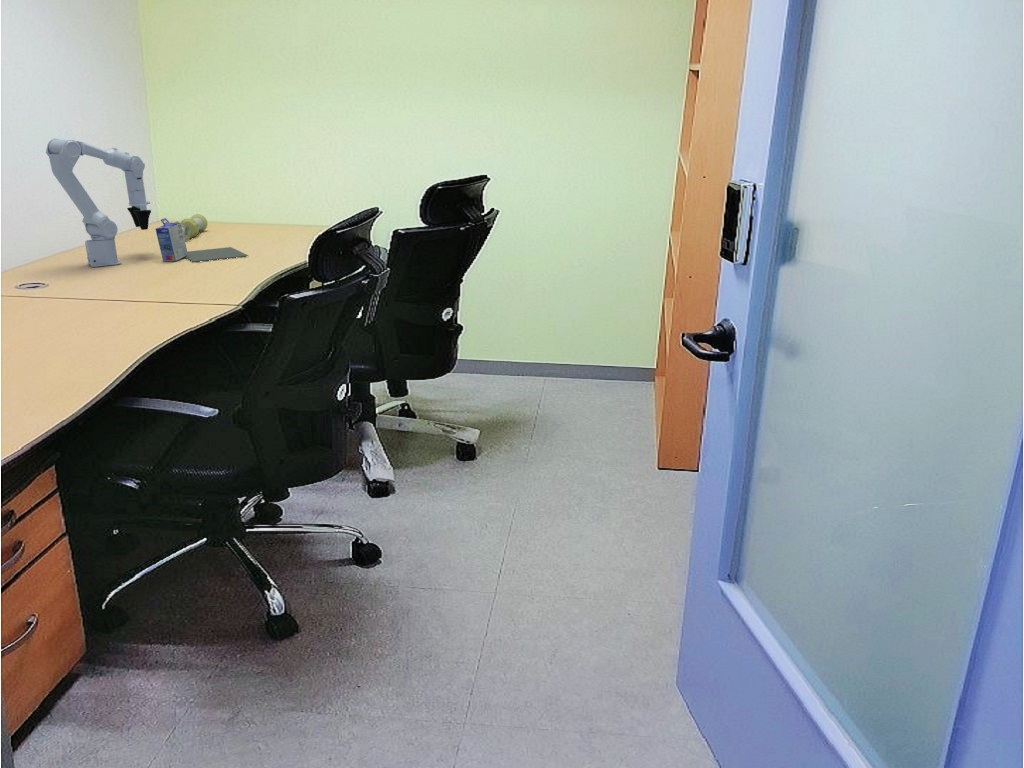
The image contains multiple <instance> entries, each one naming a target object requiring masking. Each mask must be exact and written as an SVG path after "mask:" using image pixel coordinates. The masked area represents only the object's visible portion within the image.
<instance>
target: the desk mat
mask: <svg viewBox="0 0 1024 768" xmlns="http://www.w3.org/2000/svg"><path fill="white" fill-rule="evenodd" d="M187 252H188V255H187V256H185V258H184V259H186V260H187V259H188V261H189V260H190V261H189V262H191V261H192V262H191V263H193V262H196V263H201V262H200V261H205V262H210V261H209V260H214V261H218V260H217V259H223V260H228V259H227V258H232V259H237V258H236V257H241V258H247V257H246V256H248V257H249V254H247V253H244V252H242V251H240V250H237V248H233V247H232V246H228V247H220V248H219V247H218V248H209V249H200V250H191V251H189V250H187Z"/></svg>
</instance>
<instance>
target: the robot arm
mask: <svg viewBox="0 0 1024 768" xmlns="http://www.w3.org/2000/svg"><path fill="white" fill-rule="evenodd" d="M45 154H46V155H47V156H48V158H49V163H50V167H51V173H52V174H53V176H54V177H55V179H56V180H57V181H58V182H59V184H60V186H61V187H62V188H63V190H64V191H65V192H66V195H68V196H69V198H70V200H71V201H72V202H73V204H74V205H75V206H76V208H77V209H78V211H79V213H81V215H82V217H83V218H82V223H83V225H84V227H85V228H84V229H85V231H86V233H87V234H88V235H89V236H90V239H88V240H85V252H86V257H87V264H88V265H90V266H91V267H92V268H96V267H105V266H114V265H122V262H121V261H120V260H119V259H118V253H117V247H116V246H117V245H116V240H115V239H116V236H117V234H118V225H117V224H116V223H115V222H114V221H113V220H111V219H110V218H109V217H108V215H106V214H105V213H104V212H102V211H101V210H100V209H99V208H98V206H97V205H96V204H95V202H94V200H93V199H92V198H91V197H90V195H89V193H88V192H87V190H86V189H85V188H84V186H83V185H82V183H81V182H80V181H79V179H78V178H77V176H76V175H75V173H74V172H73V169H74V167H75V166H76V164H77V162H78V160H79V159H80V157H81V156H82V157H83V156H85V155H86V156H89V157H93V158H97V159H98V160H99V159H100V160H102V161H103V163H104V164H105V165H107V166H110V167H113V168H117V169H119V170H122V171H123V172H124V177H125V183H126V189H127V196H128V206H129V207H127V208H126V209H127V211H128V212H129V214H130V216H131V218H132V221H133V223H134V225H135V227H136V228H137V227H138V228H140V230H142V231H144V230H148V228H149V219H150V216H151V213H152V209H148V208H147V205H150V204H151V201H147V197H146V191H145V190H146V189H145V184H144V170H145V167H146V165H145V162H144V161H143V160H142V158H141V157H139V156H137V155H130V153H129V152H123V151H119V150H118V148H117V147H111V148H107V149H103V148H100V147H98V146H94V145H92V144H89V143H87V142H83V141H78V140H74V139H60V138H52V139H50V140H49V141H48V142H47V146H46V150H45Z"/></svg>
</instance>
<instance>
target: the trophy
mask: <svg viewBox="0 0 1024 768" xmlns="http://www.w3.org/2000/svg"><path fill="white" fill-rule="evenodd" d="M173 223H181V225H182V229H183V234H184V238H185V242H186V243H188V242H189V241H190V238H195V237H196V236H197V235H198V234H199V233H200V232H199V231H201V232H204V231H205V230H206V229H207V228H208V220H207V218H206V217H205V216H203V215H202V214H199V213H198V214H193V215H192V216H191V217H190V218H184V219H182V221H180V222H179V221H174V222H173ZM188 240H189V241H188Z"/></svg>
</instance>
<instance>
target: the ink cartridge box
mask: <svg viewBox="0 0 1024 768" xmlns="http://www.w3.org/2000/svg"><path fill="white" fill-rule="evenodd" d="M160 221H161V224H162V225H160V226H158V227H156V228H155V234H156V236H157V237H156V238H157V242H158V245H159V246H158V247H159V249H160V255H161V258H162V262H176V261H179V260H181V259H182V258H184V257H185V256H187V255H188V248H187V244H186V243H187V242H186V243H185V241H186V240H185V238H184V234H183V229H182V225H181V222H179V223H174V222H170V221H169V220H168V218H166V217H164V218H161V219H160Z"/></svg>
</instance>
